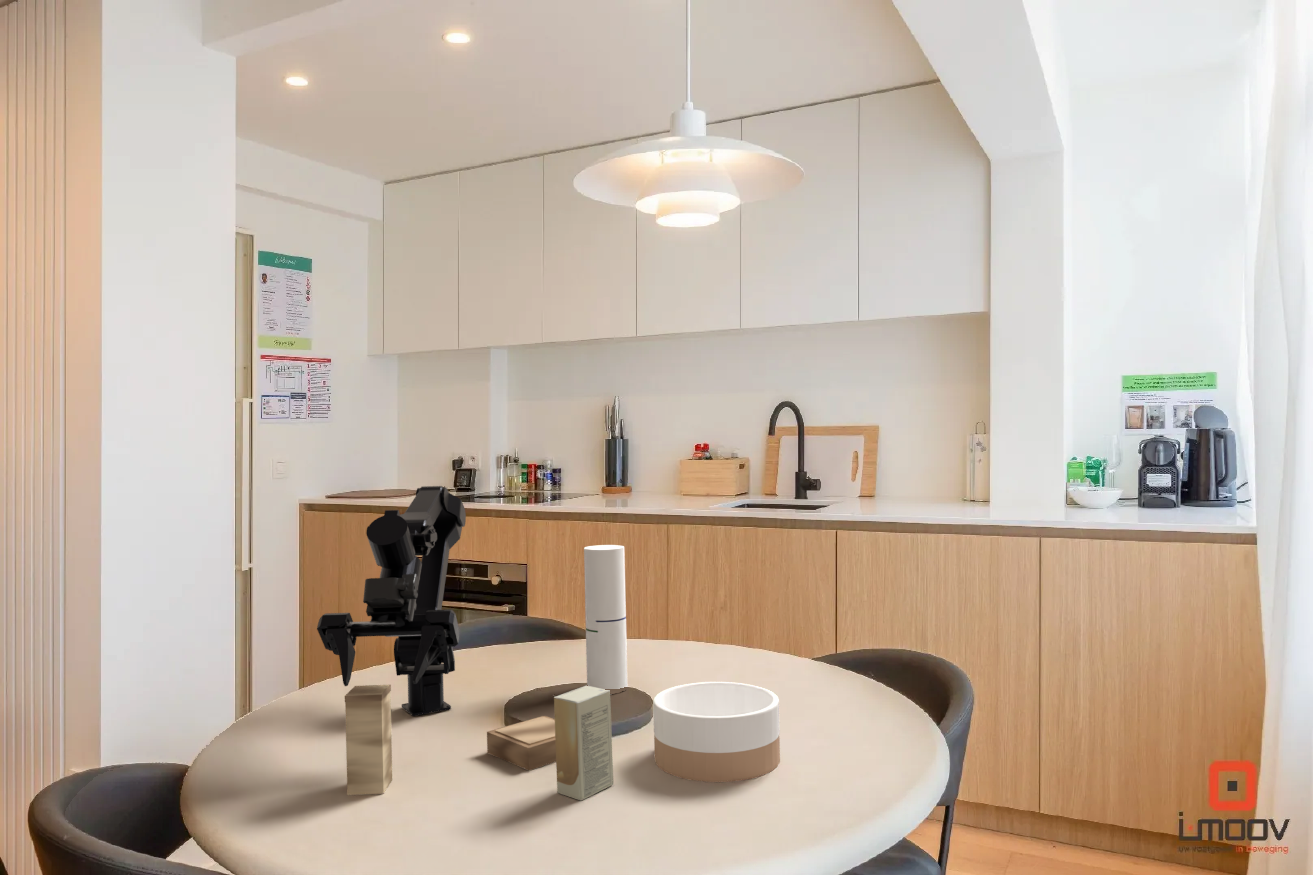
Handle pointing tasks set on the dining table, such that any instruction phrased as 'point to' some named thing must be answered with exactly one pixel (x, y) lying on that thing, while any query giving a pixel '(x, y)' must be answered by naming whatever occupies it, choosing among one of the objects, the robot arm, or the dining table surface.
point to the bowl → (716, 731)
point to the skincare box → (583, 742)
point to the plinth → (525, 743)
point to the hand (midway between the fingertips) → (379, 683)
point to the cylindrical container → (605, 616)
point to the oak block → (368, 739)
